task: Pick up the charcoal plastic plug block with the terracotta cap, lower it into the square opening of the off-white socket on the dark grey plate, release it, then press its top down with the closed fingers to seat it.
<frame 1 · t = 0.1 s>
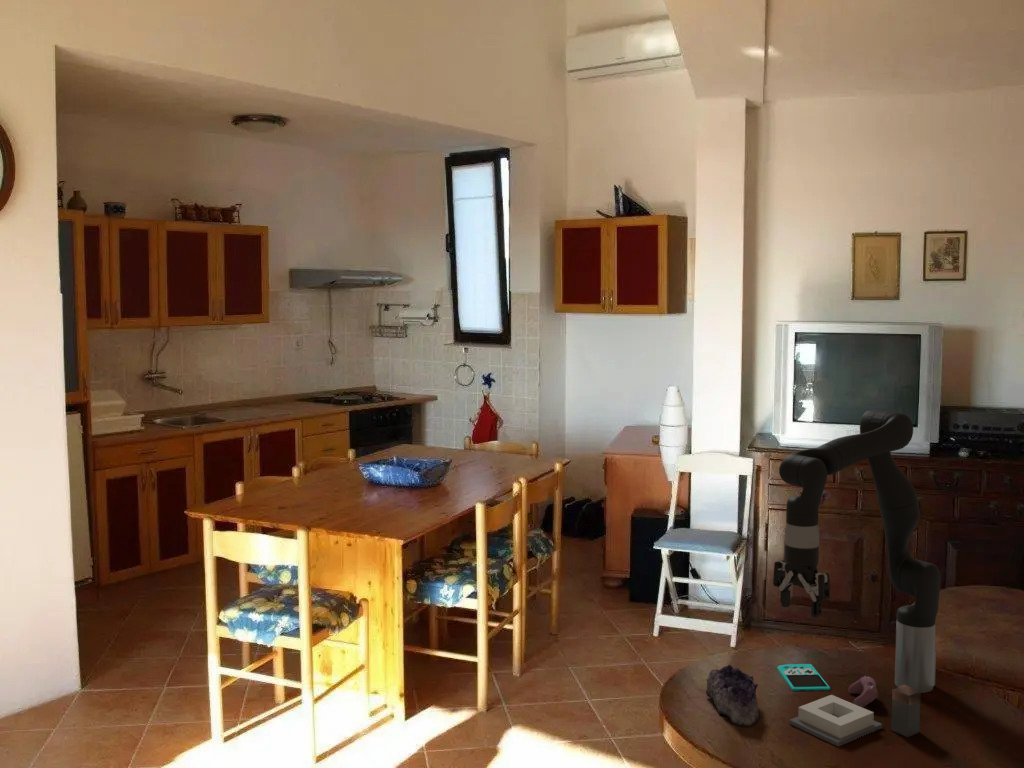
hand: (800, 611, 225), 29 cm above the table, fingers open, 8 cm apart
handheld game console: (802, 680, 259), on the table
plug: (905, 731, 228), on the table
geode: (736, 710, 241), on the table
socket: (835, 725, 231), on the table
video game controller: (862, 701, 245), on the table
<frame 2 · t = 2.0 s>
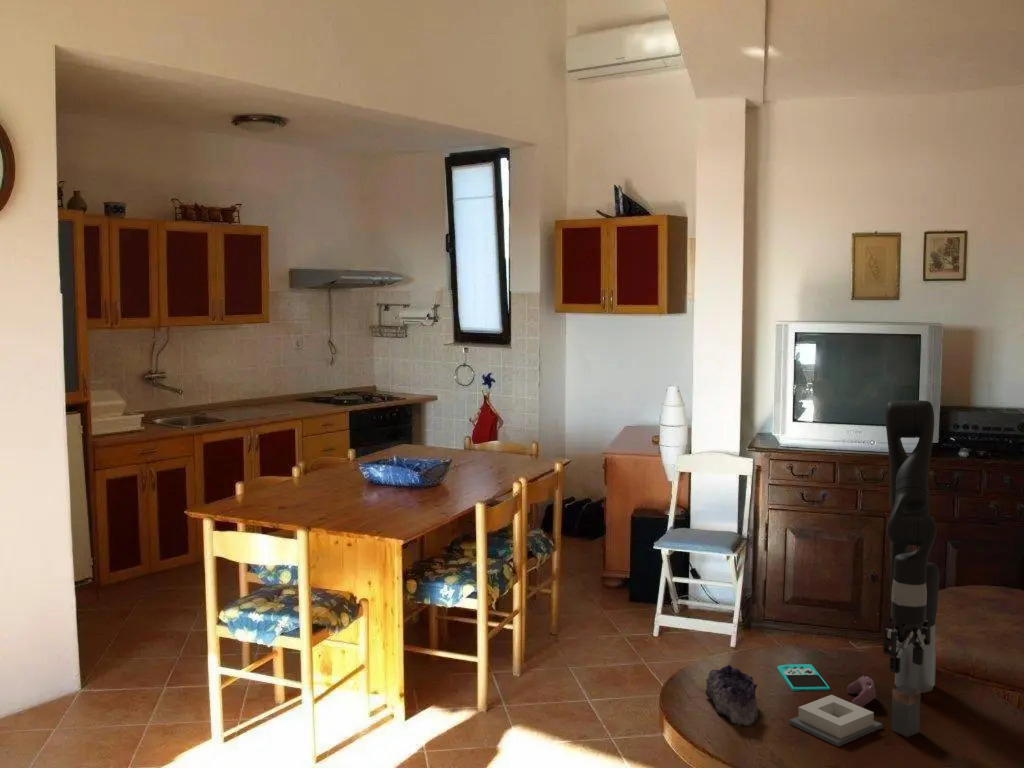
hand: (906, 668, 226), 15 cm above the table, fingers open, 8 cm apart
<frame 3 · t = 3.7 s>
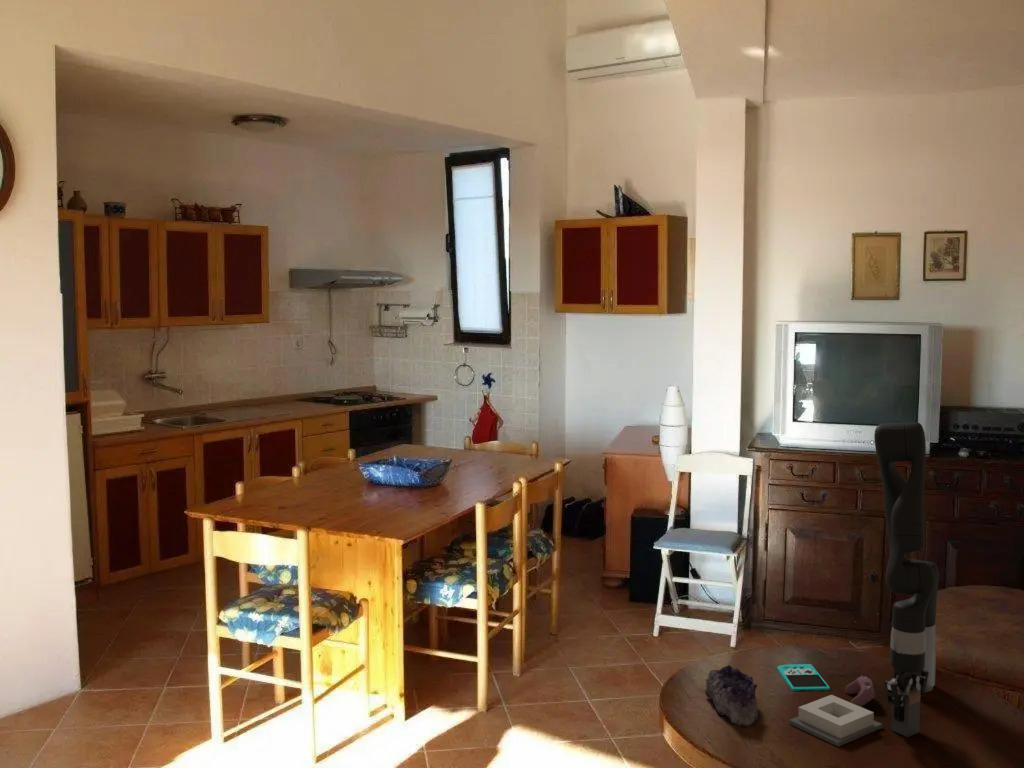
hand: (905, 717, 228), 3 cm above the table, fingers closed on plug, 4 cm apart
plug: (905, 731, 228), on the table, touching gripper
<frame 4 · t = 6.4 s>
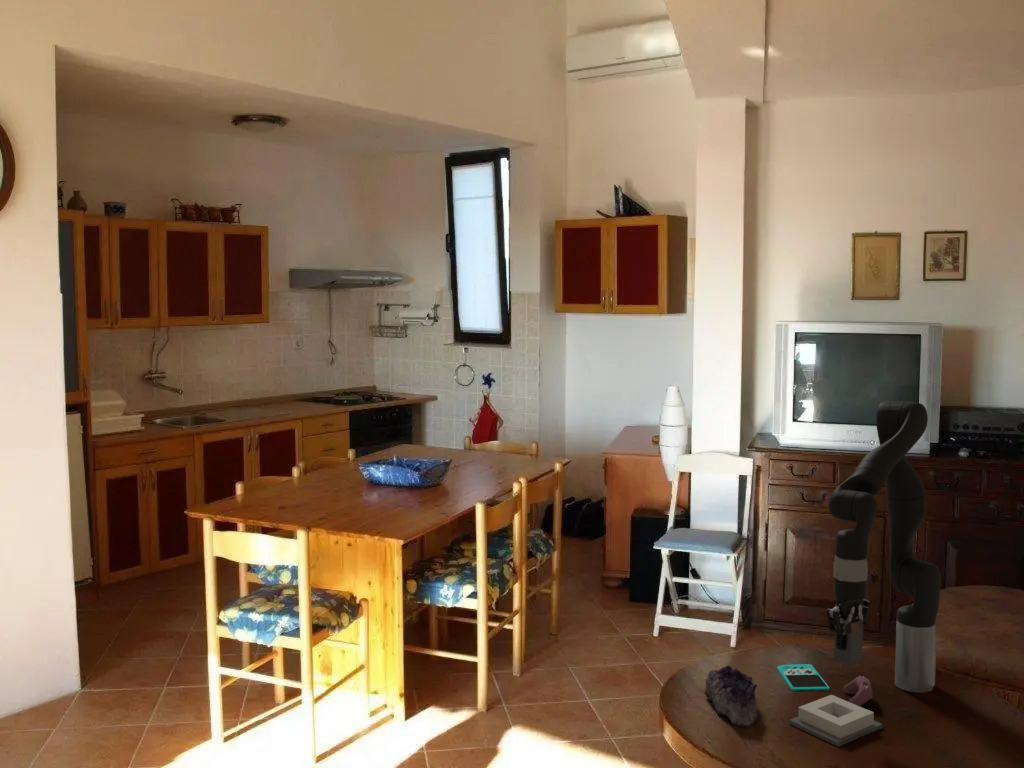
hand: (848, 646, 228), 20 cm above the table, fingers closed on plug, 4 cm apart
plug: (847, 660, 228), point 16 cm above the table, touching gripper
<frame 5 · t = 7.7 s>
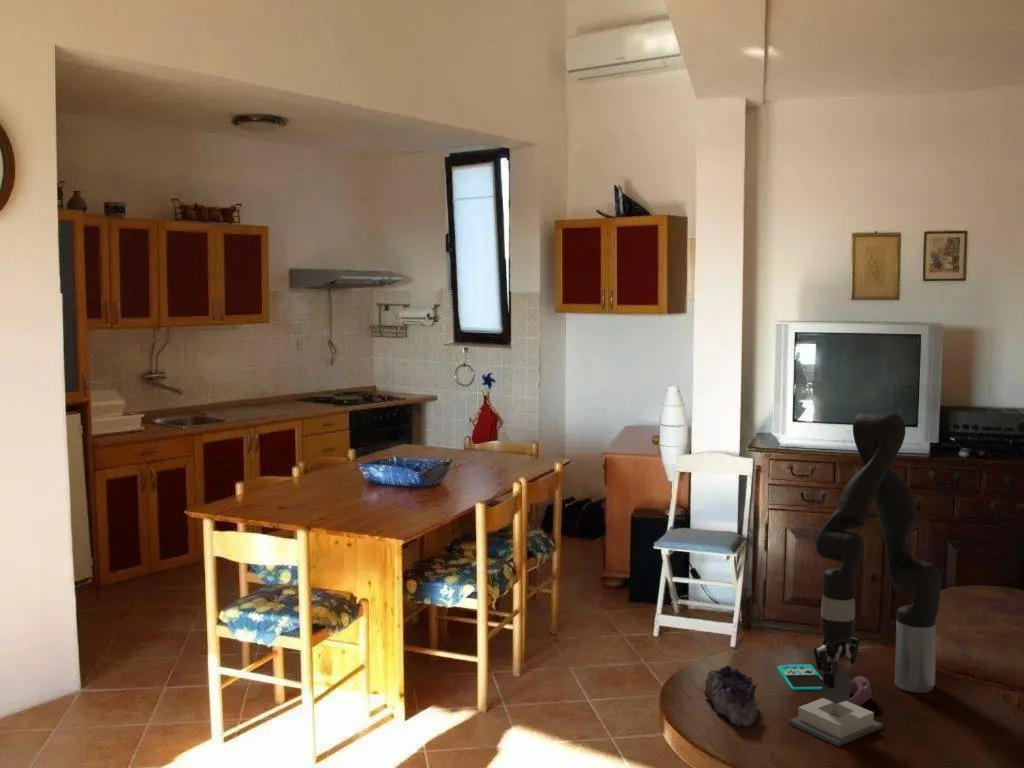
hand: (835, 684, 230), 10 cm above the table, fingers closed on plug, 4 cm apart
plug: (835, 698, 230), point 7 cm above the table, touching gripper
when the fingers open (6 cm above the table, at t = 9.0 s): plug drops 1 cm, resting on socket.
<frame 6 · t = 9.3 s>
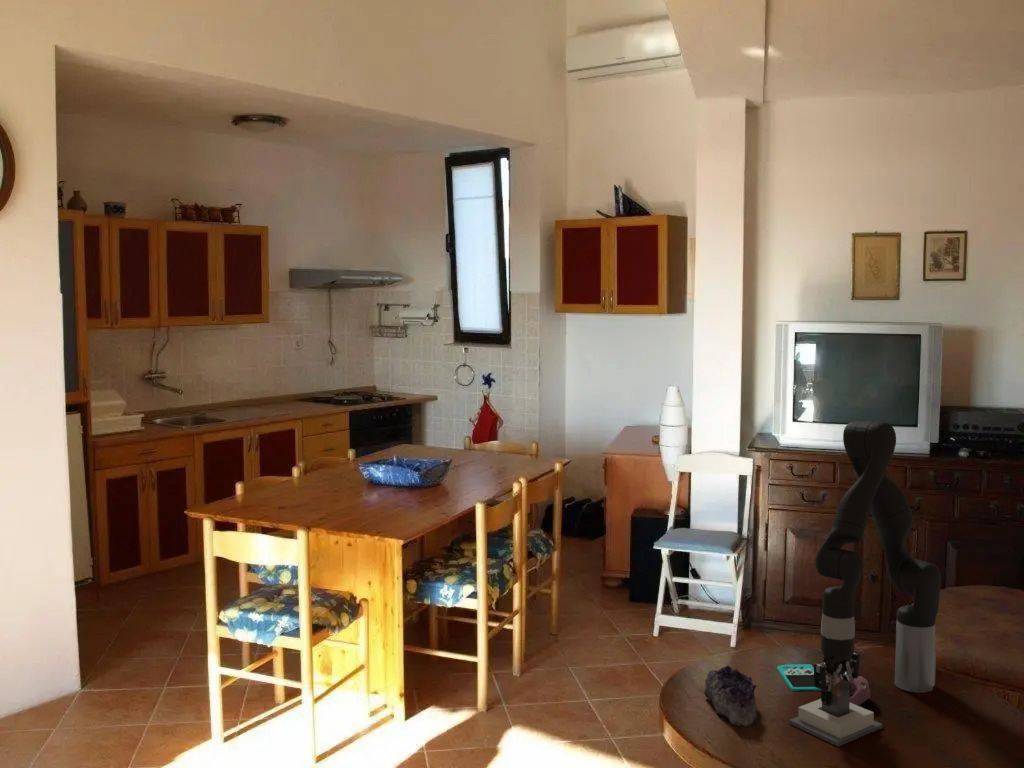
hand: (836, 700, 230), 6 cm above the table, fingers open, 6 cm apart
plug: (835, 721, 231), point 1 cm above the table, touching socket
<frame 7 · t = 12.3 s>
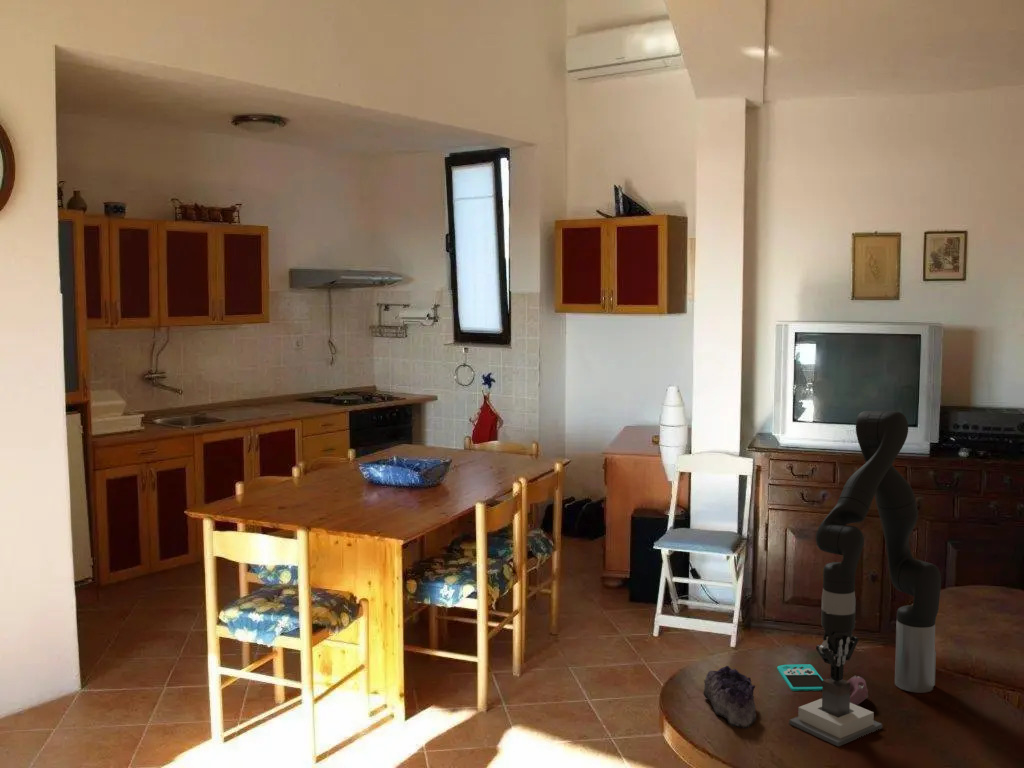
hand: (836, 679, 230), 11 cm above the table, fingers closed
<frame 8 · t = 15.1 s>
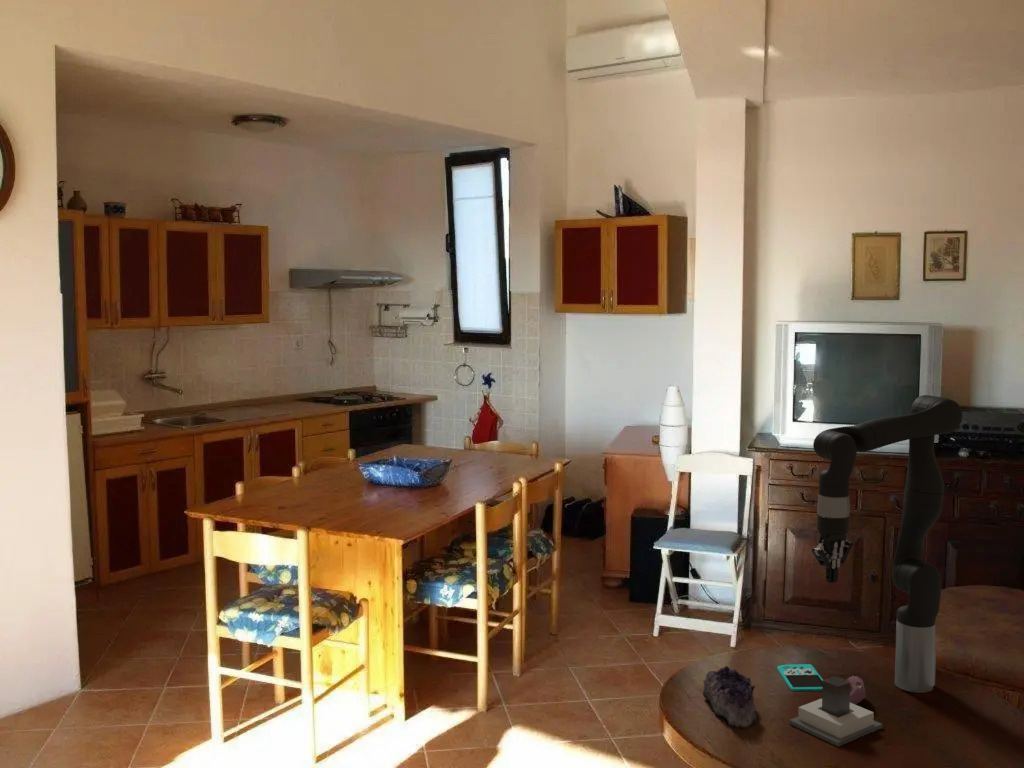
hand: (831, 581, 240), 31 cm above the table, fingers closed
at the end: plug 0.1 cm off-centre on the socket, point 1.0 cm above the socket's base; plug tilted 0°; the gripper is holding nothing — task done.
